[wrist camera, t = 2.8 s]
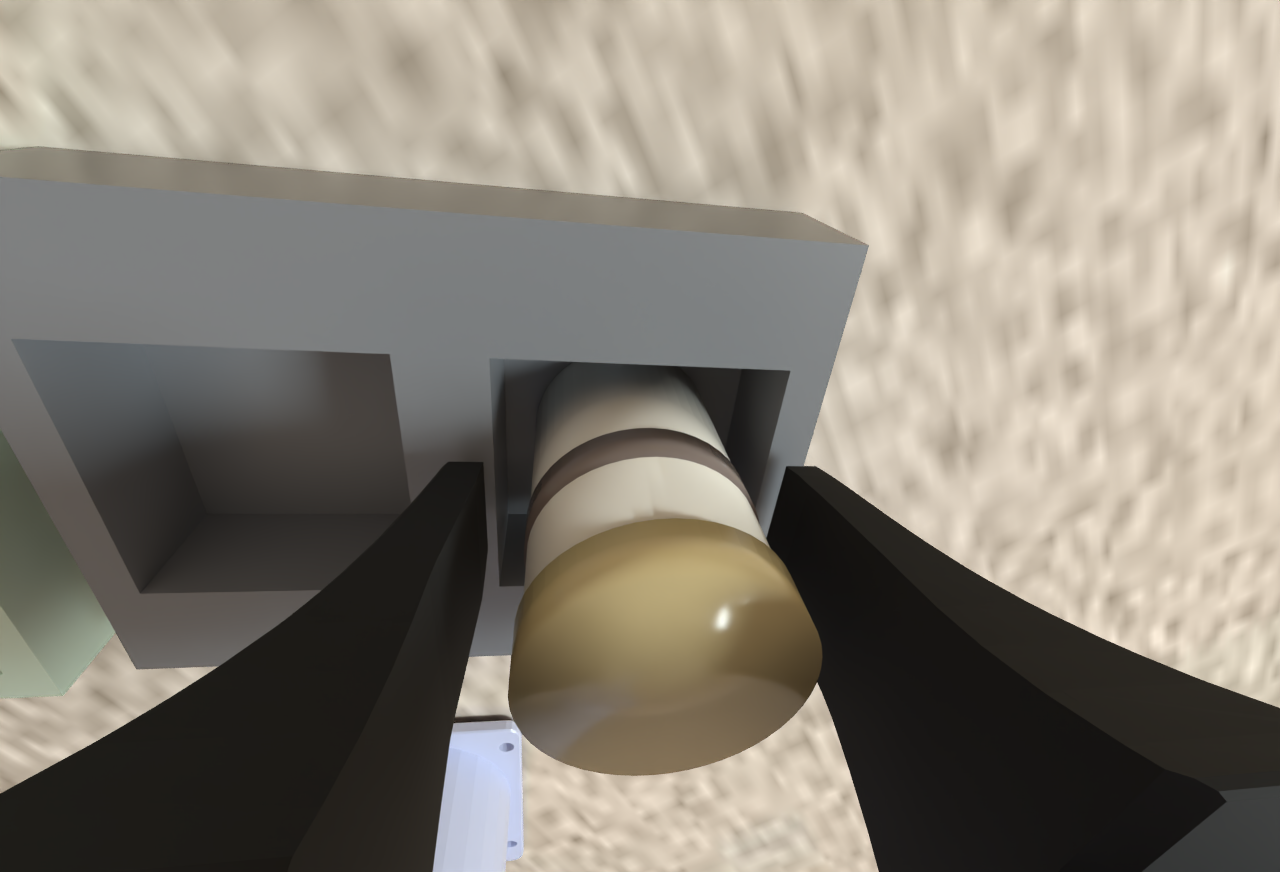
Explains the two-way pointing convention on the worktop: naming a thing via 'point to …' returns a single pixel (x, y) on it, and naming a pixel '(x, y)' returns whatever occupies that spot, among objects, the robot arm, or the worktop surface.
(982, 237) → the worktop surface
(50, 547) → the parts tray
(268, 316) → the fuse block
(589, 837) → the worktop surface
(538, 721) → the cylinder
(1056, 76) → the worktop surface
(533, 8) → the worktop surface
